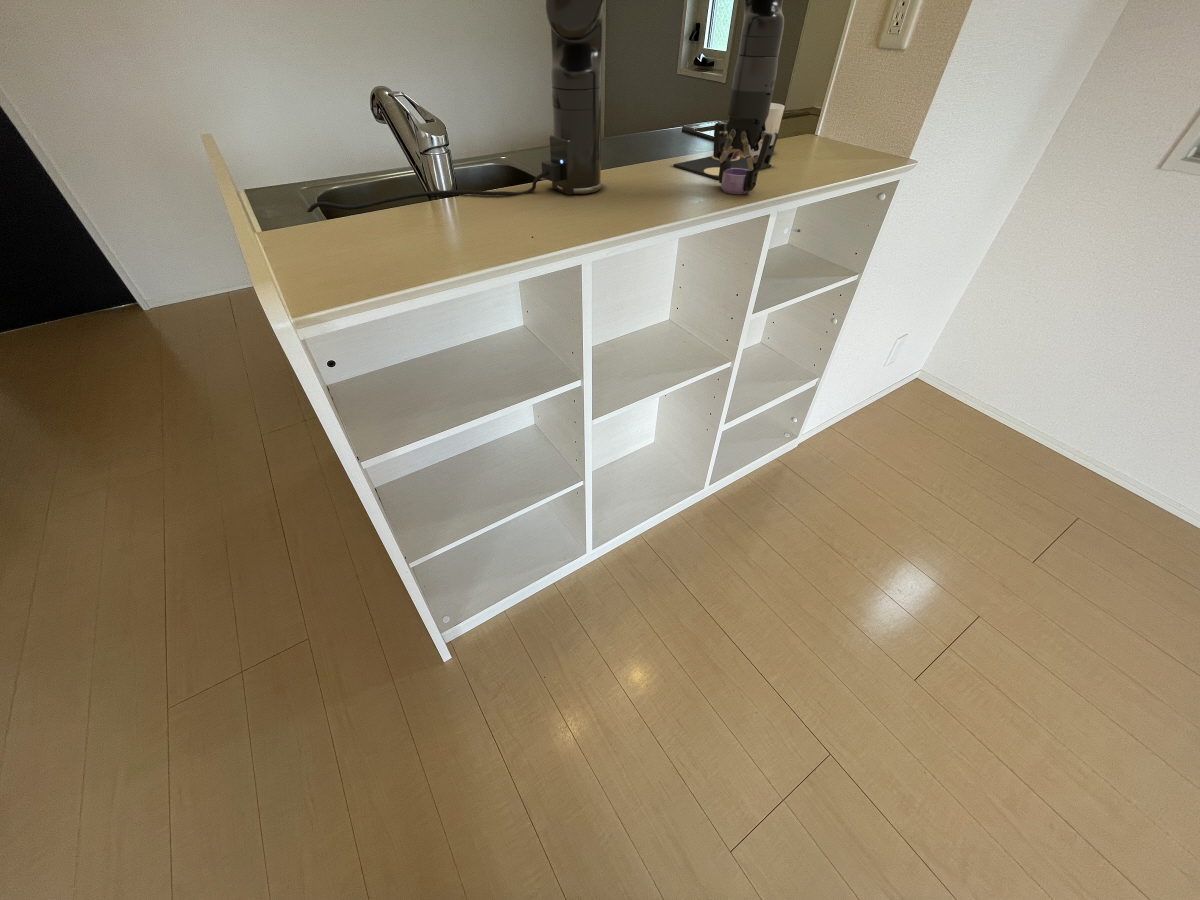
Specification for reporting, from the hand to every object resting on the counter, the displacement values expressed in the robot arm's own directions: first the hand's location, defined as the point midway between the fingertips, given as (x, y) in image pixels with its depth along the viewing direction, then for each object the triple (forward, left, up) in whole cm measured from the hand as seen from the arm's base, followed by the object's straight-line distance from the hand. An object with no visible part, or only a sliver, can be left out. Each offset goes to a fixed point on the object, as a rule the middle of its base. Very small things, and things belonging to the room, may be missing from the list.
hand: (735, 186), depth 103 cm
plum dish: (+18, +19, 0) cm, 26 cm away
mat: (+12, +15, -1) cm, 19 cm away
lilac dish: (0, 0, -1) cm, 1 cm away
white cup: (+30, +19, -1) cm, 35 cm away
